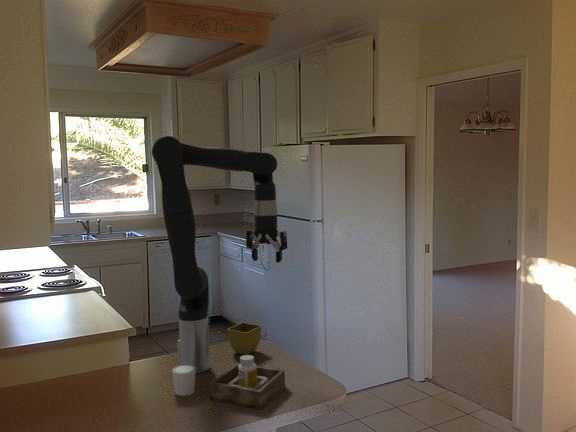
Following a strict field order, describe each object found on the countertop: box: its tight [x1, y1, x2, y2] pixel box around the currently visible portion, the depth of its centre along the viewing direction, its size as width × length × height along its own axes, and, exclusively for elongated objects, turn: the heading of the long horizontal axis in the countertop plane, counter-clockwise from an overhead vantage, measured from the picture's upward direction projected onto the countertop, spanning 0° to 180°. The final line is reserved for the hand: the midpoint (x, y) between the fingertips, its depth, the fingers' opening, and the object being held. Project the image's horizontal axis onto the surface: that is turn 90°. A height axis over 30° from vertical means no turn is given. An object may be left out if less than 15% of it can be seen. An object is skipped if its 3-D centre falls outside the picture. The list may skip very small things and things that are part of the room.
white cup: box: [171, 365, 196, 397], centre depth 161 cm, size 7×7×7 cm
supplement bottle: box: [238, 354, 257, 388], centre depth 158 cm, size 5×5×10 cm
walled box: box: [209, 362, 286, 410], centre depth 159 cm, size 16×16×5 cm
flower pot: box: [227, 322, 262, 356], centre depth 192 cm, size 9×9×9 cm
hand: (267, 261), depth 183 cm, fingers open, 8 cm apart
